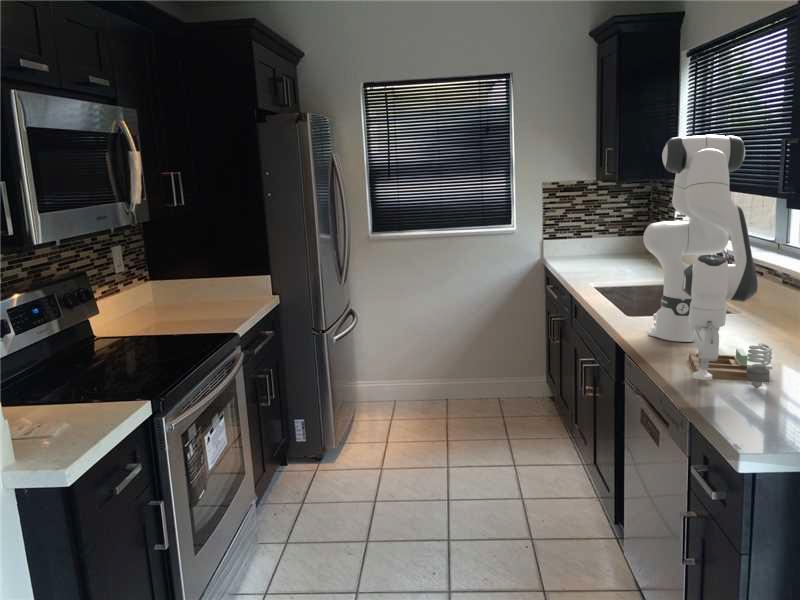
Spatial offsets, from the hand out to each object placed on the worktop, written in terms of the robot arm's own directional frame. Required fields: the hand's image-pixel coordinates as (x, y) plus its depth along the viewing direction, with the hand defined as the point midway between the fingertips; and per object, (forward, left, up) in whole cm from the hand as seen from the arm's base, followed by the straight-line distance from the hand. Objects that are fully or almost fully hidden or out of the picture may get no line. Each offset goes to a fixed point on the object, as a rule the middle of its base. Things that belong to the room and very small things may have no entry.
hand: (703, 367), depth 180 cm
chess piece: (0, 0, -3) cm, 3 cm away
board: (-12, +8, -4) cm, 15 cm away
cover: (-12, +15, -2) cm, 19 cm away
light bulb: (+1, +13, -5) cm, 14 cm away
